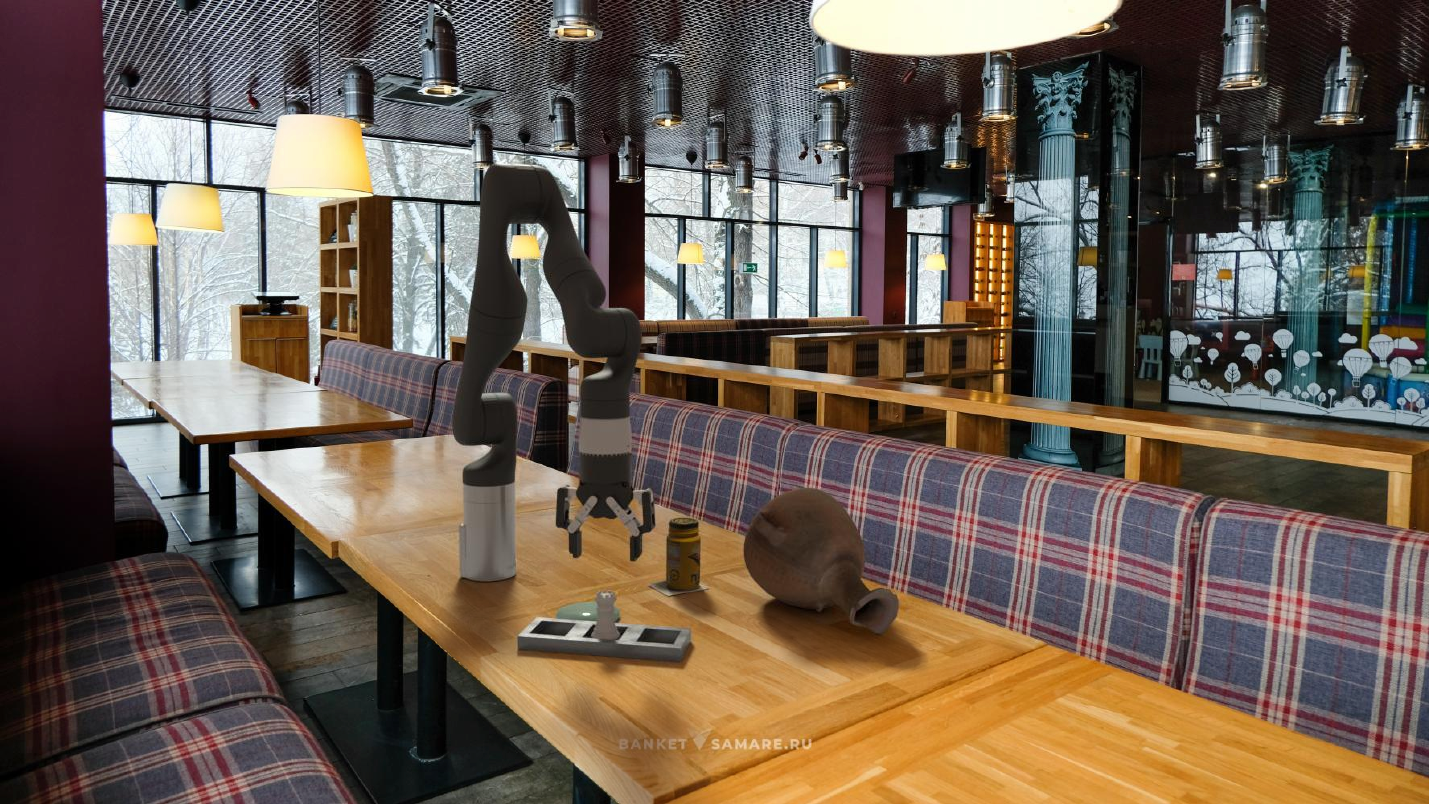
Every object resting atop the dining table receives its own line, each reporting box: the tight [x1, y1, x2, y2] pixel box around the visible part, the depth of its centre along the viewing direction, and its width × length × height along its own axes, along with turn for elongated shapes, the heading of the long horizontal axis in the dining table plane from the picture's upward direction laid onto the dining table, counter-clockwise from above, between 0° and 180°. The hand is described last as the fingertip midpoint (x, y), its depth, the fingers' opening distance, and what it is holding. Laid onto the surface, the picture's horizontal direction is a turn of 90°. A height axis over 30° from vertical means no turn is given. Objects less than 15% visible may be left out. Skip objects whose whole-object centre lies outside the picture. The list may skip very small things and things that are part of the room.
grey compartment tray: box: [517, 616, 692, 663], centre depth 136 cm, size 24×8×2 cm, turn 81°
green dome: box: [555, 601, 621, 623], centre depth 148 cm, size 10×10×1 cm
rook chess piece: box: [591, 589, 620, 640], centre depth 136 cm, size 4×4×8 cm
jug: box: [742, 487, 900, 635], centre depth 151 cm, size 20×20×30 cm
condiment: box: [647, 517, 710, 597], centre depth 163 cm, size 7×8×12 cm
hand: (605, 558), depth 135 cm, fingers open, 8 cm apart
